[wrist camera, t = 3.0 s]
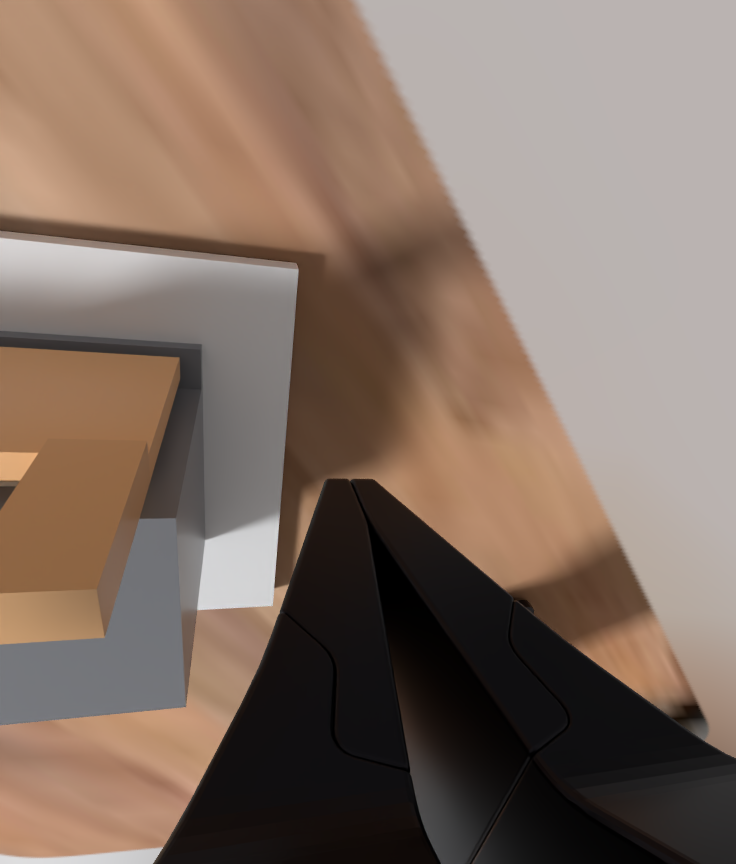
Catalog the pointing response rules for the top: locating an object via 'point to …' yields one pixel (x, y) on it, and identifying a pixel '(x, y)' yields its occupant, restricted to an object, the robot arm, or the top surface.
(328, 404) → the top surface
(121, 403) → the wooden block
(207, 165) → the top surface
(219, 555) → the grey and white panel
